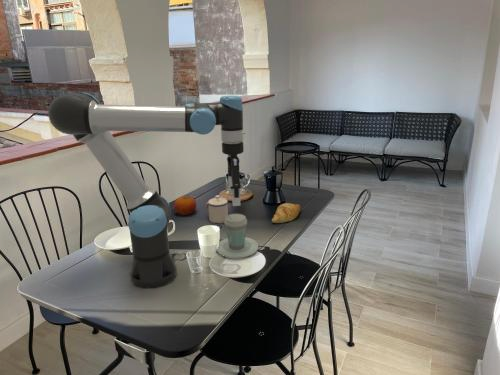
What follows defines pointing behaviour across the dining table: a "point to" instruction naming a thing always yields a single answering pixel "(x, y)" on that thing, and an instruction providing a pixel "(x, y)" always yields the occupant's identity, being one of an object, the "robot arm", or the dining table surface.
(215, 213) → the teacup with lid
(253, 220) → the dining table surface
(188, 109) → the robot arm
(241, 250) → the saucer
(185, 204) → the fruit
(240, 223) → the coffee cup
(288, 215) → the croissant
